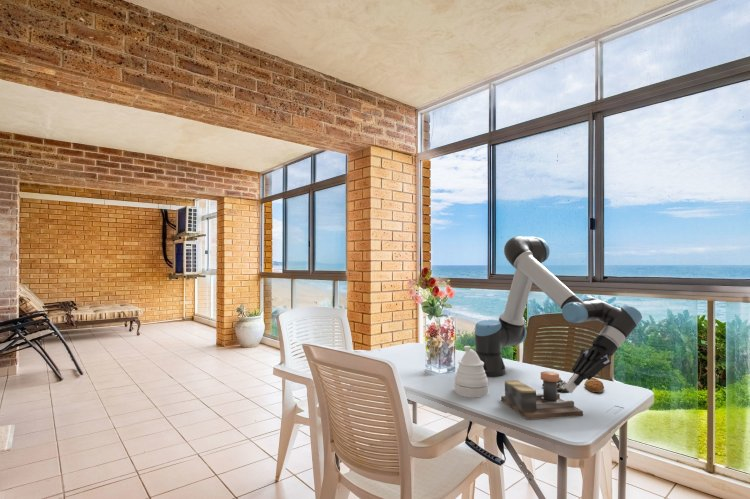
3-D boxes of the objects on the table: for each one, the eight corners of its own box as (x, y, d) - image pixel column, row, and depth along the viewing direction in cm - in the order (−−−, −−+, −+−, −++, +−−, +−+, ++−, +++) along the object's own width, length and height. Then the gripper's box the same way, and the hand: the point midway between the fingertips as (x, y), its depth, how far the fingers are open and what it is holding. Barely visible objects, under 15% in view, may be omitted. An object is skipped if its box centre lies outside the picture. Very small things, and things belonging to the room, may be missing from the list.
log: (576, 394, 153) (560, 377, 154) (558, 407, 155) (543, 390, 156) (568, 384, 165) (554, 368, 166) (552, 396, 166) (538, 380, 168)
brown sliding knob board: (501, 400, 146) (500, 378, 147) (550, 397, 150) (550, 375, 150) (527, 419, 129) (527, 394, 129) (582, 415, 132) (582, 390, 132)
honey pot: (471, 399, 147) (471, 351, 148) (447, 390, 158) (447, 345, 159) (495, 393, 154) (494, 347, 155) (471, 384, 165) (470, 341, 165)
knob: (537, 399, 142) (537, 371, 143) (552, 398, 143) (552, 371, 144) (547, 405, 136) (547, 376, 137) (563, 404, 137) (562, 375, 138)
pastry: (606, 394, 153) (606, 384, 153) (587, 393, 155) (587, 383, 155) (601, 387, 162) (601, 378, 162) (583, 386, 164) (583, 376, 164)
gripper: (628, 352, 138) (586, 403, 135) (601, 344, 151) (562, 391, 148) (615, 337, 137) (572, 388, 134) (589, 331, 150) (549, 377, 147)
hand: (567, 390), depth 141 cm, fingers closed
